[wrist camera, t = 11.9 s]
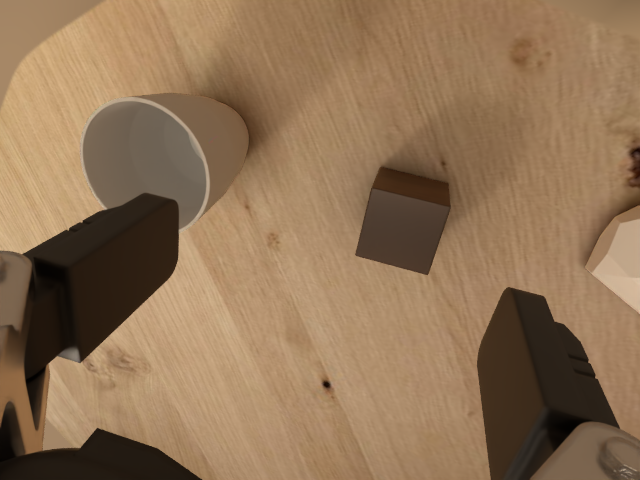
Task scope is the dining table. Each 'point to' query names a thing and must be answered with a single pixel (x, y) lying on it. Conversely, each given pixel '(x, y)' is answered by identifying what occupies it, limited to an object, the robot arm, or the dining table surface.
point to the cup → (163, 151)
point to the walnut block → (404, 220)
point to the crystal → (619, 257)
